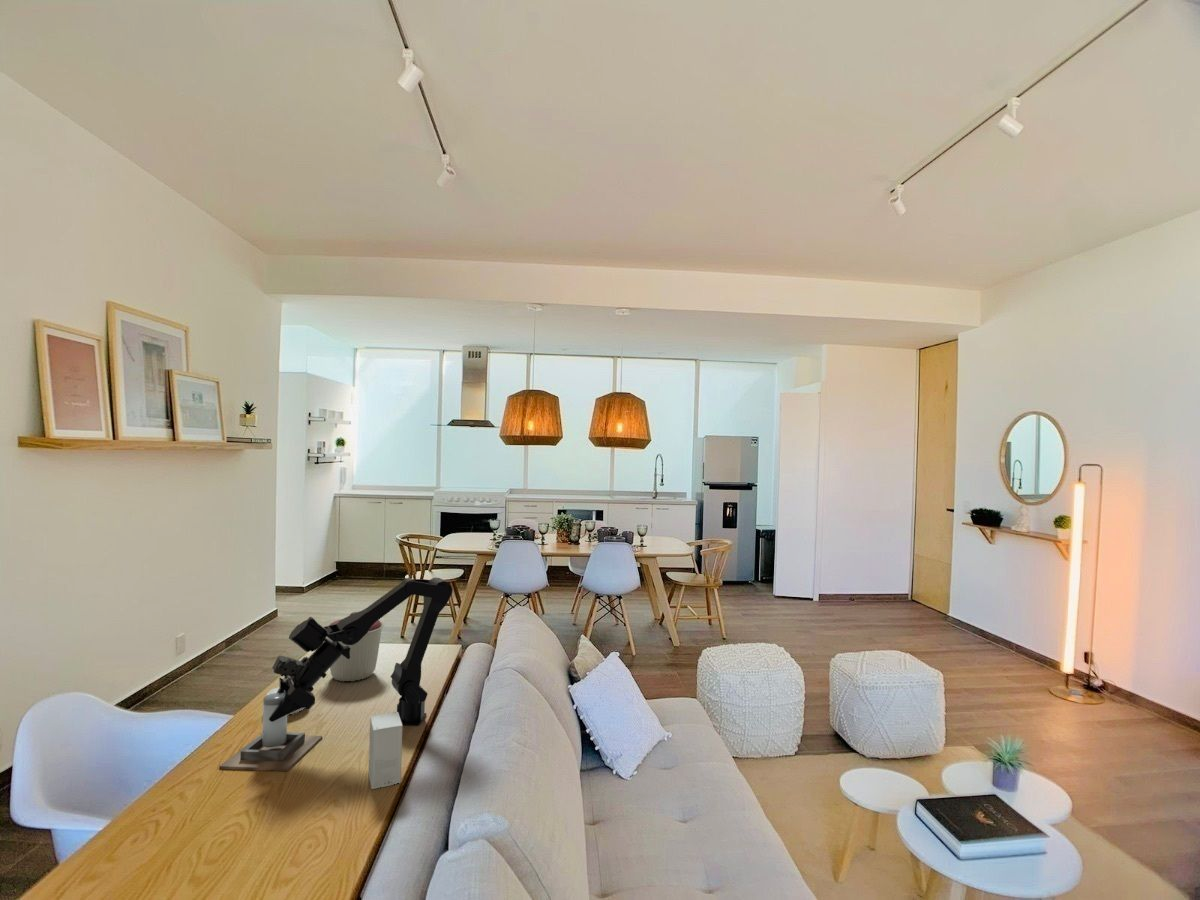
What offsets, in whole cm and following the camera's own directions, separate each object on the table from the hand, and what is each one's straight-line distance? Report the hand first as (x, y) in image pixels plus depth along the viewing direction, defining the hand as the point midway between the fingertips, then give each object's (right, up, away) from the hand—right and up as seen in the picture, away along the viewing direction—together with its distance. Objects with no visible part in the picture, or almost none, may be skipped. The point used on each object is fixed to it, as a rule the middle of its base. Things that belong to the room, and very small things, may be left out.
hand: (268, 716), depth 142 cm
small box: (+32, -10, -9) cm, 34 cm away
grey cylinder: (+1, -7, +1) cm, 7 cm away
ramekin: (-9, -10, +25) cm, 28 cm away
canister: (-1, -10, +51) cm, 52 cm away
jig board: (+1, -9, +1) cm, 9 cm away
